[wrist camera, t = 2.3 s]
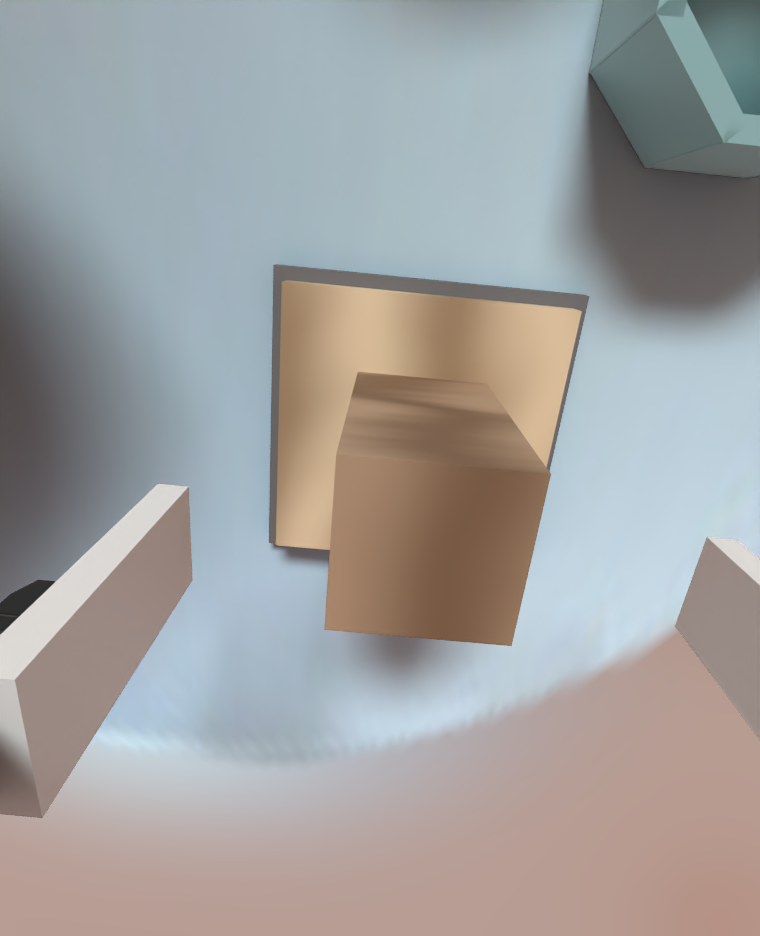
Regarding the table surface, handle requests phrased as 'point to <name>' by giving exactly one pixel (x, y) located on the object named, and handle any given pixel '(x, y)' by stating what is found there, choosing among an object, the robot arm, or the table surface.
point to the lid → (418, 452)
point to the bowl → (684, 81)
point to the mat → (401, 285)
